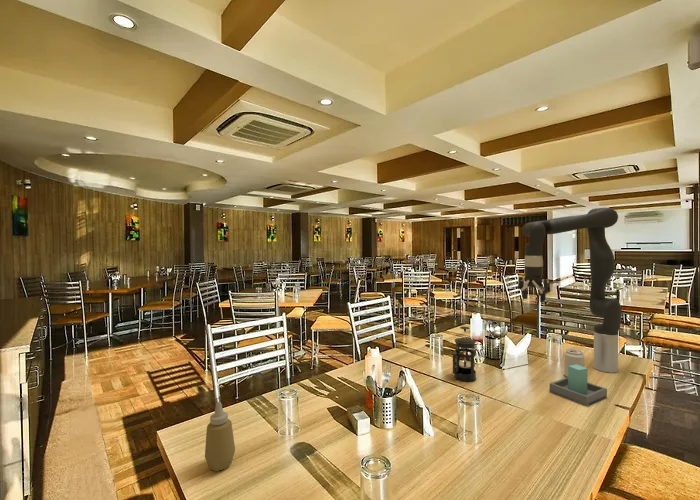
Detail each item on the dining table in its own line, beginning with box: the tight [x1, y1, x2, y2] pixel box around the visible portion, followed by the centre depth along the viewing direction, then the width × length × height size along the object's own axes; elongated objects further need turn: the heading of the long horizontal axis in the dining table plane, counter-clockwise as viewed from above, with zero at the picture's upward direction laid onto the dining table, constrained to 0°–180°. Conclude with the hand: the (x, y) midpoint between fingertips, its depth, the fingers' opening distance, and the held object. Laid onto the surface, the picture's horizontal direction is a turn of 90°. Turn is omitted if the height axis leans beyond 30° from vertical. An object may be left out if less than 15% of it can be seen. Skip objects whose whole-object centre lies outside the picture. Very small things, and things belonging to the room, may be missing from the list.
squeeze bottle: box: [204, 401, 236, 472], centre depth 97 cm, size 8×8×18 cm
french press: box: [452, 325, 477, 383], centre depth 154 cm, size 12×9×23 cm
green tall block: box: [568, 365, 588, 394], centre depth 137 cm, size 4×4×10 cm
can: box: [563, 348, 586, 378], centre depth 153 cm, size 8×8×12 cm
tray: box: [549, 377, 608, 407], centre depth 137 cm, size 14×14×4 cm
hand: (533, 300), depth 160 cm, fingers open, 8 cm apart
